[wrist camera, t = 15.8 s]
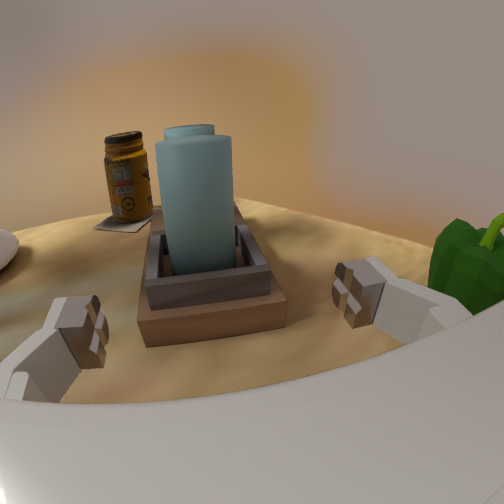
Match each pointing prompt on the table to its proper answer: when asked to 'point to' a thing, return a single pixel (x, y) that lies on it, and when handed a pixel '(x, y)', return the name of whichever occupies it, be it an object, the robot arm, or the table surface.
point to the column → (197, 202)
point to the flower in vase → (7, 247)
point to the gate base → (206, 286)
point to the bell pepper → (469, 264)
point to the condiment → (127, 183)
